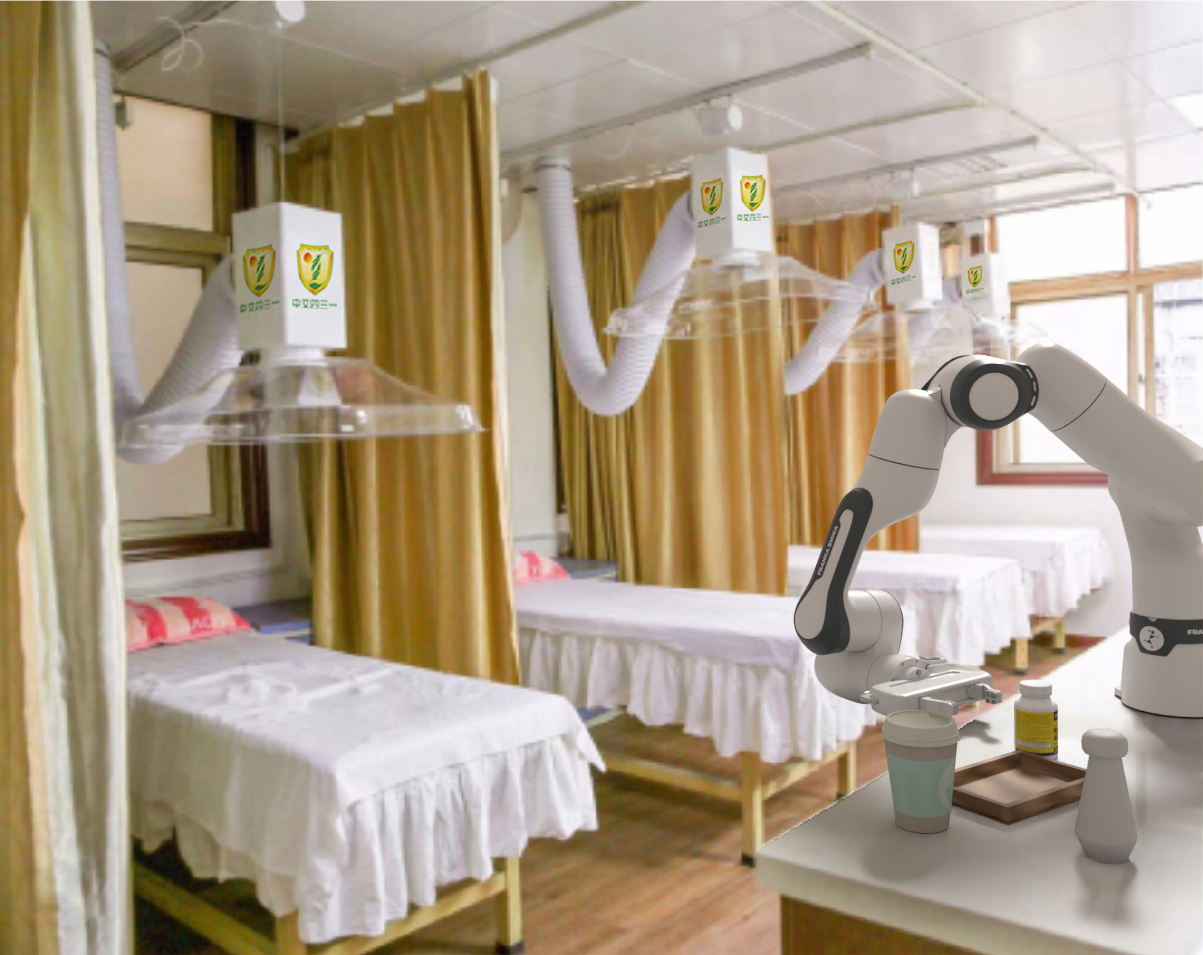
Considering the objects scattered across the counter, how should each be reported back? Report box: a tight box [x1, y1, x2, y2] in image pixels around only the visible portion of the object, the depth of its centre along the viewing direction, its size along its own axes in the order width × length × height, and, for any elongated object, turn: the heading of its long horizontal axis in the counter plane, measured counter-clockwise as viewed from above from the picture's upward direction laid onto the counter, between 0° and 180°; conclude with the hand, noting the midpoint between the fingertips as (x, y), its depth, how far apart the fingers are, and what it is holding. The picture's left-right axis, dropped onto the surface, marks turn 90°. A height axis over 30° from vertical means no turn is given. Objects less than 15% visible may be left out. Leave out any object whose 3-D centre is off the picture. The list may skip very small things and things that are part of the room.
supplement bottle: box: [1013, 679, 1059, 760], centre depth 140 cm, size 5×5×10 cm
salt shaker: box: [1073, 727, 1138, 865], centre depth 108 cm, size 6×6×13 cm
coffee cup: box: [880, 710, 961, 834], centre depth 118 cm, size 8×8×12 cm
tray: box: [951, 750, 1087, 826], centre depth 127 cm, size 18×12×2 cm, turn 122°
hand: (977, 703), depth 148 cm, fingers open, 8 cm apart
